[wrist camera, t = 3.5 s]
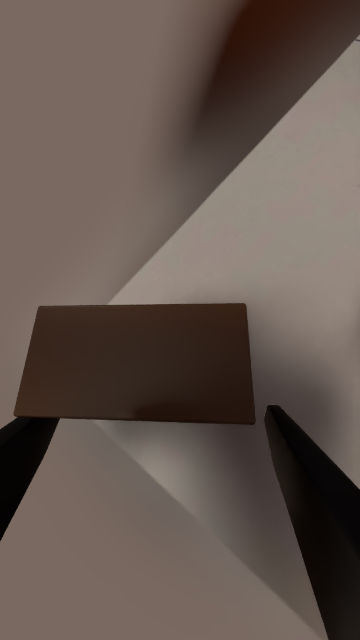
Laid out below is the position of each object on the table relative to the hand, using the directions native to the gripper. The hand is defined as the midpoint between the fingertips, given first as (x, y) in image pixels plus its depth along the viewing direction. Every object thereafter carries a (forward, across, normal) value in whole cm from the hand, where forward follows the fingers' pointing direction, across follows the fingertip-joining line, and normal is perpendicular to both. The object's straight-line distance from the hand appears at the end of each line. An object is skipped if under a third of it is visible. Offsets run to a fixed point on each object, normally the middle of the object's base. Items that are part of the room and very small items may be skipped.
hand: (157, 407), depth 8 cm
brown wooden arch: (+8, 0, +5) cm, 9 cm away
